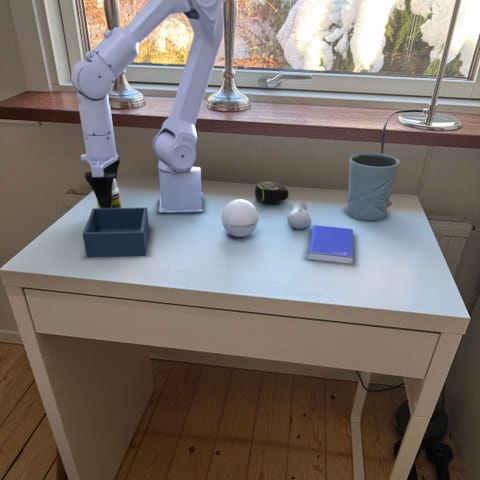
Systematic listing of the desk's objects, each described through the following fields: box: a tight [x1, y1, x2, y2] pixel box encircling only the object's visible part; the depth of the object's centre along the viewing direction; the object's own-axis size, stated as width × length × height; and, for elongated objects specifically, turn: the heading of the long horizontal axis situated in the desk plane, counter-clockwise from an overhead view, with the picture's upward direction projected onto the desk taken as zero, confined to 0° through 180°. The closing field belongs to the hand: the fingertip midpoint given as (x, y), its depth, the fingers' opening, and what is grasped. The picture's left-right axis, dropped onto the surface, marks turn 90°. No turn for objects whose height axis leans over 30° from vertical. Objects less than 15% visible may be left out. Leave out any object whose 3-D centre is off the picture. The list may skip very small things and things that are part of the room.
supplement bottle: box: [96, 178, 122, 208], centre depth 97 cm, size 5×5×8 cm
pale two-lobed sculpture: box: [286, 199, 312, 230], centre depth 98 cm, size 4×8×5 cm
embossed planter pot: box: [346, 152, 401, 222], centre depth 101 cm, size 10×10×12 cm
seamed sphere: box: [221, 198, 273, 238], centre depth 92 cm, size 10×7×7 cm
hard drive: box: [307, 224, 354, 265], centre depth 90 cm, size 2×8×12 cm
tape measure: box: [254, 180, 289, 204], centre depth 109 cm, size 7×7×4 cm
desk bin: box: [82, 206, 150, 258], centre depth 89 cm, size 11×12×5 cm
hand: (108, 200), depth 97 cm, fingers open, 7 cm apart
